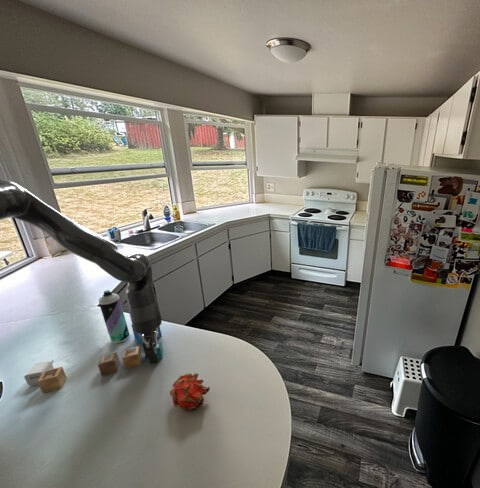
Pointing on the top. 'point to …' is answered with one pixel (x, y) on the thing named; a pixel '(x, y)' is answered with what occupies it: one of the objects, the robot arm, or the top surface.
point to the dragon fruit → (188, 392)
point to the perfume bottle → (139, 336)
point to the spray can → (114, 317)
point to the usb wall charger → (37, 372)
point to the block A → (52, 379)
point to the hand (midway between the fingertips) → (155, 354)
